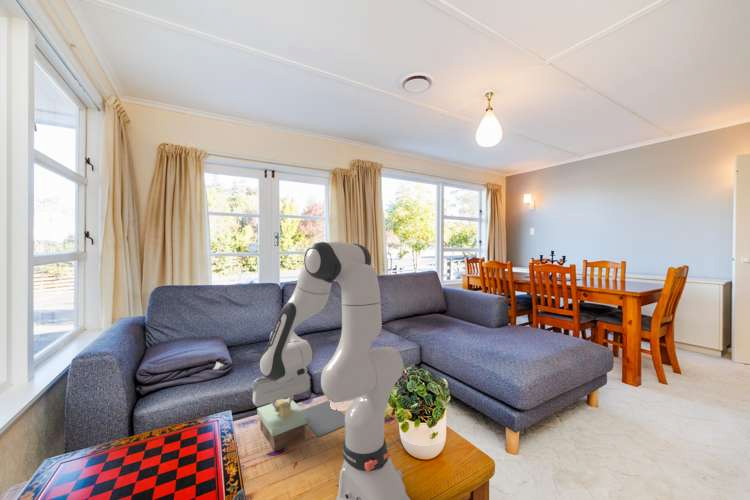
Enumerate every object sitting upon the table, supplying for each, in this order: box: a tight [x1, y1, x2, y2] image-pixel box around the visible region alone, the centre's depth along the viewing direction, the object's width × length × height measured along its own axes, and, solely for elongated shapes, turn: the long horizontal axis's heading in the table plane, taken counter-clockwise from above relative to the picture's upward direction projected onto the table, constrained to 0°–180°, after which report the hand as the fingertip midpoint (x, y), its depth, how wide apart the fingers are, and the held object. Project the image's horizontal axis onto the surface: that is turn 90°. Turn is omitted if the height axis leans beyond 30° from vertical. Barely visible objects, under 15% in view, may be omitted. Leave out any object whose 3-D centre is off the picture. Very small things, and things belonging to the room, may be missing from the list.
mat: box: [302, 400, 346, 438], centre depth 120 cm, size 20×15×1 cm
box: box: [259, 418, 306, 452], centre depth 109 cm, size 15×11×7 cm
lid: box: [256, 397, 308, 437], centre depth 109 cm, size 17×13×6 cm
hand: (282, 409), depth 109 cm, fingers closed on lid, 3 cm apart
